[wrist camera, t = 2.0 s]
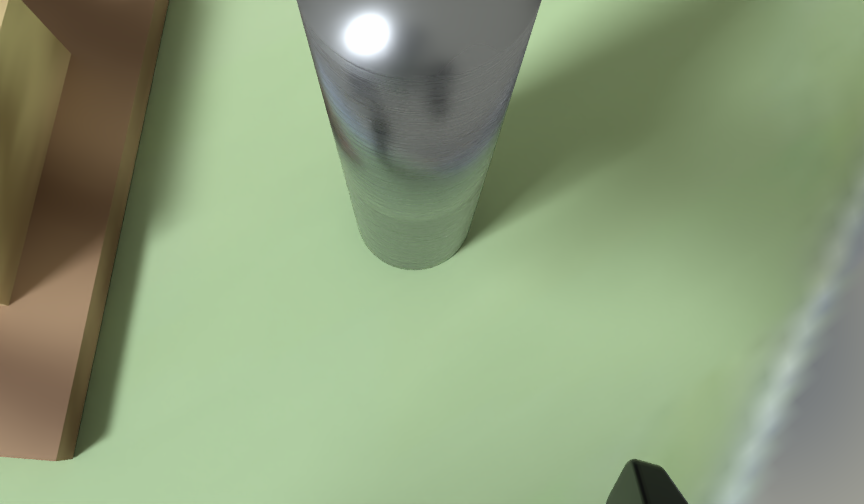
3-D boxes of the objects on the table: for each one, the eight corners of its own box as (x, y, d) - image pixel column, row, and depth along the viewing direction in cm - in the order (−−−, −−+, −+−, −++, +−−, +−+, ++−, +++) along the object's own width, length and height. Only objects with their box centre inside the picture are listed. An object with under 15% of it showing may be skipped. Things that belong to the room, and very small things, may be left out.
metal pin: (467, 274, 22) (542, 87, 10) (351, 264, 22) (272, 63, 9) (474, 166, 23) (551, -132, 11) (363, 156, 23) (307, -156, 10)
